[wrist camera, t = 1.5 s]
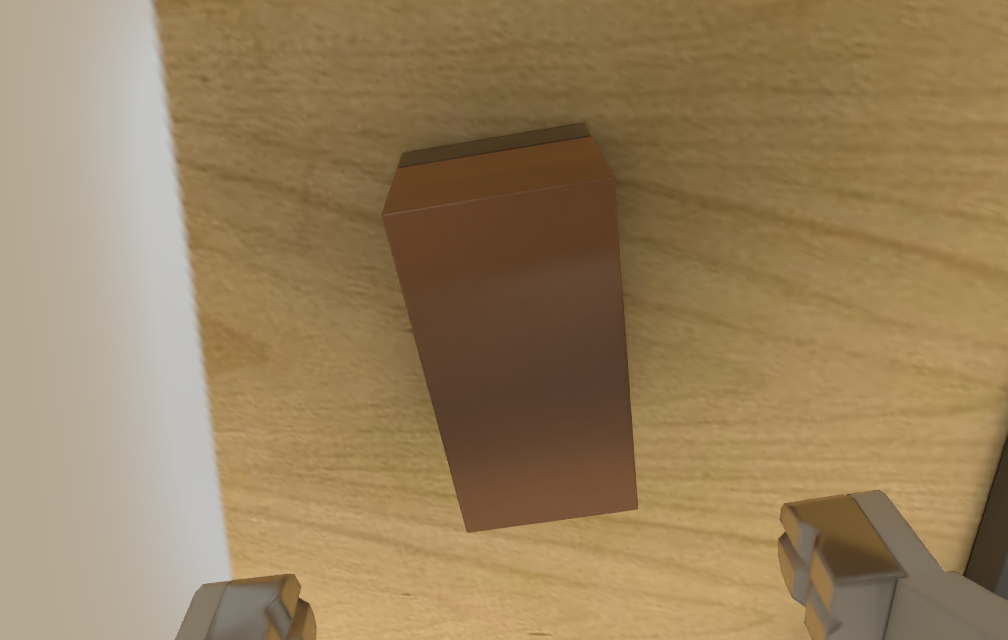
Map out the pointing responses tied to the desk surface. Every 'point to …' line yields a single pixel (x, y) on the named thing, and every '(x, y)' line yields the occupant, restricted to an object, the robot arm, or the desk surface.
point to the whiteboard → (993, 538)
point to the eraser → (519, 322)
